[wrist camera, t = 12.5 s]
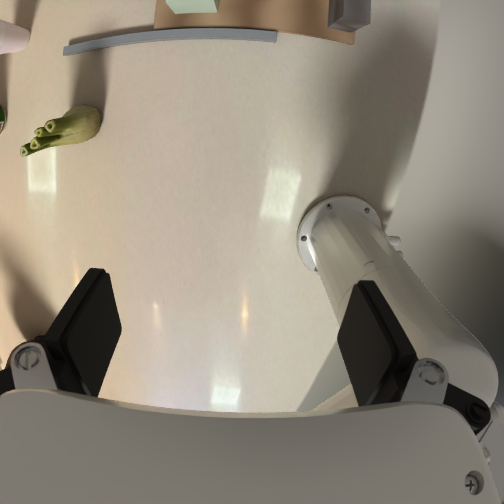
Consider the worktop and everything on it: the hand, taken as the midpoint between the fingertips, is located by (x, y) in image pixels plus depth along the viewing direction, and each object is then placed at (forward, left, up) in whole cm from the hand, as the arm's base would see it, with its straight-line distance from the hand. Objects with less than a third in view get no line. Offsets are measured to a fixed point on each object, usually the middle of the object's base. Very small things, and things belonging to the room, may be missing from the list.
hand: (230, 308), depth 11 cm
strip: (-1, -21, -28) cm, 35 cm away
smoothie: (+33, -20, -28) cm, 48 cm away
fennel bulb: (+20, -5, -29) cm, 35 cm away
